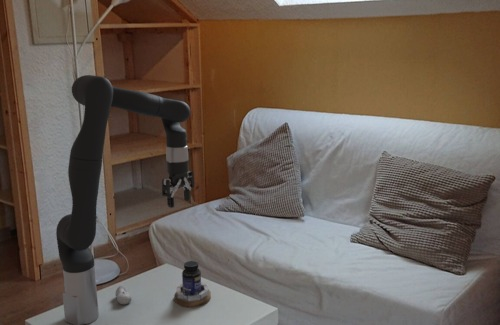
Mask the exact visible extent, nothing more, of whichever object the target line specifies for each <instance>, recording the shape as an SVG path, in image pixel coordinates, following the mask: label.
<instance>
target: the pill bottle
mask: <svg viewBox="0 0 500 325" xmlns="http://www.w3.org/2000/svg"><path fill="white" fill-rule="evenodd" d="M183 268H184V269H183V270H182V272H181V275H182V276H181V277H182V278H181V279H182V284H183V293H185V294H188V295H191V294H199V293H200V292H201V283H202V275H201V274H202V272H201V270H200V268H199V262H197V261H195V260H188V261H186V262H184V264H183Z"/></svg>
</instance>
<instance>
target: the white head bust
mask: <svg viewBox="0 0 500 325" xmlns="http://www.w3.org/2000/svg"><path fill="white" fill-rule="evenodd" d="M115 297H116V300H117V302H118V304H120V305H122V306H123V305H124V306H125V305H127V304H130V303H131V301H132V298H133V296H132V295H131V294H130V292H128V291H126V288H125V287H124V286H123V285H119V286H118V287H117V289H116V290H115Z"/></svg>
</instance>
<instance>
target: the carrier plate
mask: <svg viewBox="0 0 500 325" xmlns="http://www.w3.org/2000/svg"><path fill="white" fill-rule="evenodd" d="M211 295H212V294H211V291H210V289H209V287H208V284H207V283H203V282H201V292H200V293H199V294H191V295H188V294H185V293H183V283H181V284H180V285H178V286H176V292H175V293H174V302H175V303H176V304H177V305H178V306H181V307H184V308H198V307H201V306H203V305H206V304H208V303H209V302H210V301H211V298H212V296H211Z"/></svg>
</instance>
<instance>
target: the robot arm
mask: <svg viewBox="0 0 500 325" xmlns="http://www.w3.org/2000/svg"><path fill="white" fill-rule="evenodd" d="M71 94H72V97H73V99H74V100H75V101H76V102H77V103H78V104H80V105H82V106H84V111H83V112H84V113H83V114H84V115H83V121H82V125H81V127H80V130H79V131H78V134H77V136H76V138H75V140H74V142H73V144H72V147H71V148H70V154H69V159H68V169H67V170H68V171H67V172H68V174H67V177H68V181H69V187H70V188H69V189H70V192H71V199H72V200H71V203H72V204H71V213H69V214H66V215H64V216H63V217H61V219H60V220H59V222H58V224H57V226H56V232H55V234H56V235H55V236H56V242H57V249H58V257H59V259H60V262H61V266H62V272H63V281H64V282H63V284H64V285H63V286H64V292H62V303H63V310H64V311H63V312H64V321H65V322H66V323H69V324H71V325H88V324H91V323H93V322H95V321H96V320H97V319H98V318H99V314H100V313H99V304H98V302H99V301H98V292H97V290H98V289H97V280H96V267H95V257H94V255H93V253H92V251H91V249H90V247H91V245H92V244H93V243H94V241H95V238H96V235H97V234H96V233H97V205H98V202H97V201H98V196H99V189H100V188H99V187H100V178H101V171H102V166H103V165H102V164H103V158H104V157H103V156H104V145H105V140H106V132H107V124H108V120H109V117H110V116H109V115H110V111H111V108H115V109H120V110H124V111H128V112H132V113H135V114H139V115H143V116H147V117H152V118H160V119H161V122H162V126H163V129H164V132H165V138H166V139H165V140H166V141H165V142H166V144H165V145H166V149H165V150H166V151H165V155H166V156H165V158H166V160H165V161H166V172H167V173H168V178H163V179H162V180H161V188H162V189H161V195H162V197H166V199H167V203H166V204H167V207H168V208H171V209H172V208H175V197H174V196H175V194H176V192H177V191H178V189H180V188H183V198H184V199H183V200H184V201H187V202H190V201H191V190H192V188H195V175H194V171H192V170H190V167H189V165H190V163H189V148H188V135H187V134H188V133H187V130H186V129H185V128H183V127H182V126H181V124H180V123H184V122H186V121H188V120H189V118H190V117H191V108H190V106H189V104H187V103H186V102H185V101H182V100H177V99H171V98H165V97H161V96H159V95H157V94H152V93H148V92H145V91H139V90H131V89H127V88H121V87H117V86H114V85H112V83H111V82H110V80H109V79H108V78H106V77H104V76H101V75H100V76H99V75H92V74H85V75H81V76H79V77H77V78H76V79H75V80H74V81H73V83H72V85H71Z"/></svg>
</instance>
